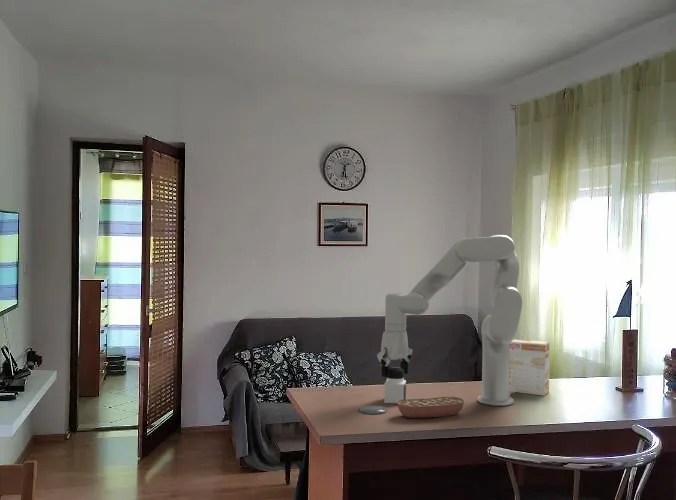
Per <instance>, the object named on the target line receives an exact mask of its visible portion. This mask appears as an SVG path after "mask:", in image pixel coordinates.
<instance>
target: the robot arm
mask: <svg viewBox="0 0 676 500" xmlns="http://www.w3.org/2000/svg"><path fill="white" fill-rule="evenodd" d="M492 261H493V263H494V271H493V273H494V274H493V280H492V284H491V289H490V293H489V304H490V305H491V307H493V310H492V314H491V313H490V314H488V315H487V316H486V317H485V318H484V319H483V320H482V324H481V327H480V328H481V329H480V331H481V332H480V333H481V342H482V358H481V359H482V360H481V362H482V367H481V368H482V369H481V372H482V373H481V374H482V375H481V379H482V380H481V381H482V382H481V384H482V385H481V386H482V387H481V395H478V396H477V401H478V402H479V403H481V404H483V405H488V406H496V407H497V406H498V407H500V406H501V407H502V406H510V405H513V404H514V398H513V397H511V395H512V394H515V393H516V392H515V389H514V388H509V363H510V347H509V343H510V342H511V341H512V340H513V339H516V338H515V337H516V336H517V332H518V329H519V324H520V319H521V314H522V308H523V297H522V294H521V292H520V291H519V290H518V289H517V287H518V283H519V275H520V262H519V258H518V256H517V253H516V251H515V243H514V241H513V239H512V238H511V237H509V236H508V235H504V234H493V235H490V236H483V237H482V236H481V237H463V238H460V239H458V240H457V241H456V242H455V243H454V244H453V245H452V246H451V247H450V248H449V249H448V250H447V252H446V253H445V254H444V255H443V256H442V257H441V258H440V259H439V261H438V262H437V263H436V264H435V265H434V266H433V267H432V268H431V269H430V270H429V271H428V272H427V273H426V274H425V276H423V277H422V278H421V279H420V280H419V281H418V282H417V283H416V284H415V286H414V287H412V289H411V290H410V291H409V293H408V294H404V293H398V292H397V293H396V292H391V293H387V295H386V296H385V305H384V306H385V307H384V308H385V311H384V315H385V318H384V321H385V322H384V324H385V325H384V331H383V333H382V336H381V342H380V343H381V346H380V351H379V352H378V353H377V354H376V357H377V359H378V362H379V364H380V366H381V377H383V378H386V379H387V378H388V377H389V368H390V366H389V364H390V363H391V361H397V360H400V364H399V366H400V367H399V368H402V369H403V370H404V375H408V374H409V363H410V359H411V358H412V355H413V349H412V348H410V347H409V340H408V333H407V325H408V324H407V315H415V316H421V315H424V314H425V313H427V311H428V310H429V306H430V302H429V301H430V300H431V299H432V298H433V297H434V296H435V295H436V294H437V293H438V292H439V291H441V290H442V289H443V288H446V287H447V286H449V285H451V284H452V283H453V282H455V280H456V279H457V277H459V275H460V274H461V273H462V272H464V270H465V268H466V267H467V266H469V264H470V263H481V262H483V263H484V262H492Z"/></svg>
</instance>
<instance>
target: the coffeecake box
mask: <svg viewBox="0 0 676 500" xmlns="http://www.w3.org/2000/svg"><path fill="white" fill-rule="evenodd" d="M509 347H510V363H509V388H514V389H515V393H519V394H520V393H522V394H528V395H537V396H543V397H545V396H547V394H549V393H550V341H542V340H540V341H539V340H529V339H528V340H527V339H516V338H514V339H513V340H512V341H511V342H510V343H509Z"/></svg>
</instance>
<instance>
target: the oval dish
mask: <svg viewBox="0 0 676 500" xmlns="http://www.w3.org/2000/svg"><path fill="white" fill-rule="evenodd" d="M464 405H465V401H464V399H463V398H460V397H458V396H457V397H456V396H438V397H430V398H429V397H428V398H409V399H408V398H406V399H404V400H400V401H398V404H397V409H398V410H399V412H400V414H401V415H402V416H403V417H406V418H408V419H424V418H425V419H426V418H439V417H448V416H454V415H457V414H458V413H460V412H461V411H462V410H463V407H464Z"/></svg>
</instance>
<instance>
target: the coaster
mask: <svg viewBox="0 0 676 500" xmlns="http://www.w3.org/2000/svg"><path fill="white" fill-rule="evenodd" d="M359 412H361V413H363V414H366V415H382V414H386V413H387V407H385V406H381V405H364V406H362V407H360V408H359Z"/></svg>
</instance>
